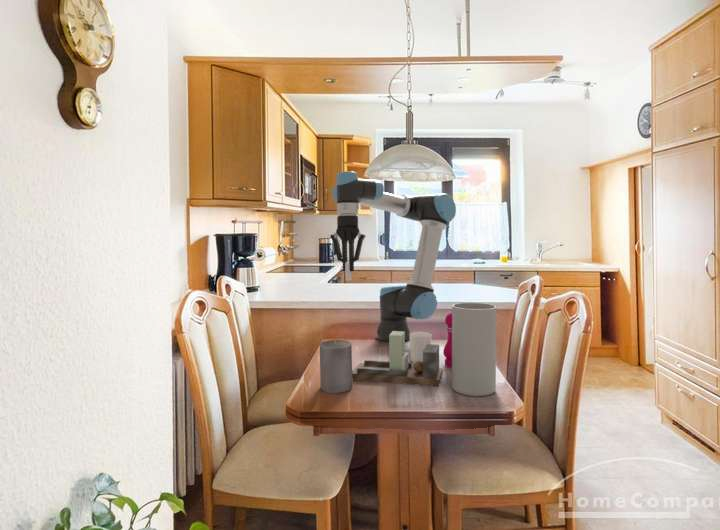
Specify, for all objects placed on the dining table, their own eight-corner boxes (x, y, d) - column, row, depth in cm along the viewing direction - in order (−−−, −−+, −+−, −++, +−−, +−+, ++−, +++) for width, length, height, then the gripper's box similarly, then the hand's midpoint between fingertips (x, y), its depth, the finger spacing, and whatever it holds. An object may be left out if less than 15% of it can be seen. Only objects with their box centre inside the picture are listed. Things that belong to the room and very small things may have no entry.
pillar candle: (328, 381, 145) (327, 334, 144) (357, 384, 141) (356, 336, 140) (314, 391, 136) (313, 342, 135) (345, 395, 132) (343, 344, 131)
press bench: (350, 379, 146) (349, 348, 145) (360, 368, 158) (359, 340, 157) (439, 386, 139) (439, 353, 138) (442, 374, 150) (442, 344, 150)
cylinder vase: (468, 380, 144) (468, 301, 142) (503, 389, 135) (504, 305, 133) (443, 389, 136) (443, 306, 134) (479, 400, 127) (480, 311, 125)
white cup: (435, 360, 167) (435, 333, 166) (425, 365, 160) (425, 337, 159) (415, 357, 171) (415, 330, 170) (405, 362, 165) (405, 334, 164)
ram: (389, 372, 145) (388, 335, 144) (393, 366, 152) (393, 330, 151) (404, 373, 144) (404, 336, 143) (408, 367, 151) (408, 331, 150)
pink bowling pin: (464, 368, 156) (464, 310, 155) (443, 367, 157) (443, 310, 156) (464, 362, 163) (464, 307, 162) (443, 361, 165) (443, 306, 163)
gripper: (327, 215, 163) (328, 281, 165) (362, 214, 160) (363, 281, 162) (333, 215, 171) (334, 279, 172) (367, 215, 167) (368, 279, 169)
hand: (348, 280), depth 167 cm, fingers closed
